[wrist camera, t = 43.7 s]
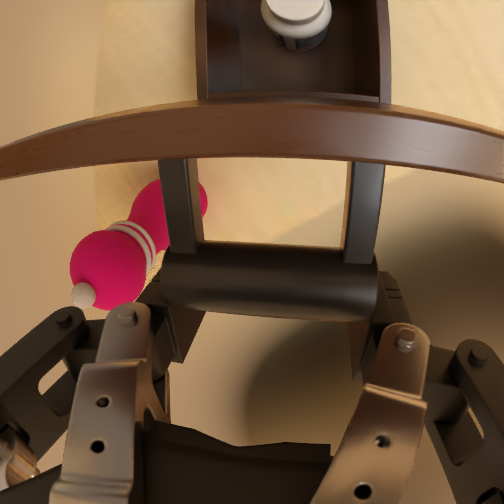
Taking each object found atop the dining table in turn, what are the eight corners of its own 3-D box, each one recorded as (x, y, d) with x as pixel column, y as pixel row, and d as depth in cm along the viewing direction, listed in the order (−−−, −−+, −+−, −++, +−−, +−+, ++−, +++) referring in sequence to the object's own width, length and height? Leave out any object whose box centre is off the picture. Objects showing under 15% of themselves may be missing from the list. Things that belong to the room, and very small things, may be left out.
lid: (-14, 151, 5) (43, 323, 7) (581, 164, 3) (504, 363, 5) (194, 100, 18) (200, 173, 21) (393, 104, 16) (387, 180, 19)
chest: (231, -21, 22) (195, -68, 12) (355, -21, 20) (376, -71, 10) (235, 102, 29) (197, 105, 19) (360, 106, 27) (390, 110, 17)
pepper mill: (145, 182, 34) (23, 267, 17) (197, 160, 32) (81, 239, 15) (169, 235, 37) (75, 347, 20) (221, 218, 35) (142, 341, 18)
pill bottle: (329, 9, 22) (339, -27, 13) (322, 56, 24) (330, 36, 16) (274, 0, 22) (259, -37, 14) (266, 47, 25) (249, 24, 16)
